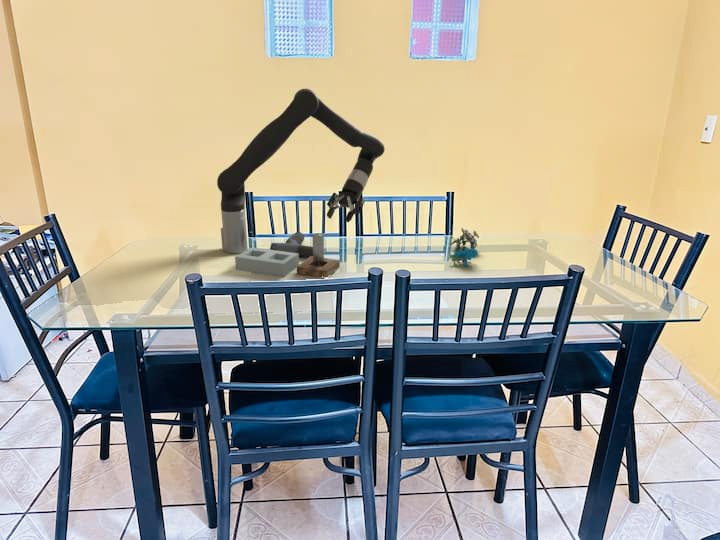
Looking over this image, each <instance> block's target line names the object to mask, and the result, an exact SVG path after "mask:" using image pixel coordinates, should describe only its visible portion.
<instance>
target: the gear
mask: <svg viewBox="0 0 720 540" xmlns="http://www.w3.org/2000/svg"><path fill="white" fill-rule="evenodd" d="M478 255H479V253H478V250H477V249H475V250H474V249H471V248H464V249H463V250H462V249H460V248H459V250H457V251H454V252H453V254H452V253H451V254H449V255H448V256H449V259H450V260H451V261H452V262H453V267H456V266H457V265H456V262H460V261H462V262H464V263H465V267H466V268H469V262H468V261H471V260H472V259H476V258H477V256H478Z"/></svg>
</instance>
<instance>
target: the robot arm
mask: <svg viewBox="0 0 720 540" xmlns="http://www.w3.org/2000/svg"><path fill="white" fill-rule="evenodd" d="M311 117H312V119H315V120H316V121H318V122H320V123H321V124H322V125H324V126H325V127H326V128H328V129H329V130H330V132H332V133H333V134H334V135H335V136H336V137H338V138H340V139H341V140H342V141H343V142H345V143H346V144H347V145H349V146H350V147H352V148H360V151H359V153H358V156H357V159H356V163H355V165H354V166H353V169H352V171H350V173H349V174H348V177H347V178H346V180H345V182H344V184H343V186H342V189H341V193H339V194H337V193H336V192H333V193H332V195H331V196H330V198H329V200H328V201H327V202H326V205H327V207H328V210H327V213H326V216H327V218H328V219H332V217H333V216H334V214H335V210H337V209H341V208H348V209H349V210H348V212H347V214H346V216H345V218H344V219H345V220H344V221H345V222H346V223H350V222H351V221H352V219H353V217H354V215H356V214H357V215H359V214H360V213H361V212H362V209H363V207H364V205H365V199H364V198H363V197H362V196H361V195H362V193H363V191H364V189H365V188H366V186H367V184H368V180H369V178H370V176H371V174H372V172H373V169H374V166H373V165H374V164H373V163H374V162H375V161H376V160H377V159H378V158H380V157H382V156H383V154H384V152H385V145H384V144H383V142H382V141H381V140H380V139H379V138H378V137H376V136H374V135H372V134H370V133H367V132H365V131H362V130H361V129H359V128H358V127H357V126H355V125H354V124H353V123H352V122H350V121H348V120H347V119H345V118H344V117H342V116H341V115H339V114H338V113H336V112H335V111H334V110H333V109H331V108H330V107H329V106H328V105H326V104H325V103H324V101H322V99H320V98H319V96H318V95H317V94H316V93H315V92H314V91H313V90H312V89H309V88H301V89H298V91H296V93H294V96H293V99H292V101H291V102H290V104H289V105H288V106H287V107H286V108H285V110H284V111H283V112H282V113H281V114H280V115H278V117H277V118H275V119H273V120H272V121H271V122H269V123H268V124H267V125H265V127H264V128H263V129H261V130H260V131H259V132H258V134H257V135H256V136H255V137H254V138H252V140H251V142H249V144H248V145H247V146H246V147H245V149H244V151H243V152H242V153H241V155H240V156H239V157H238V158H237V159H236V161H234V162H233V163H232V164H231V165H230V166H228V167H227V168H225V169H224V170H222V172H220V173H219V174H218V176H217V180H216V182H217V183H216V185H217V188H218V190H219V191H220V192H221V198H220V199H221V200H220V211H221V213H220V214H221V222H222V223H221V224H222V227H220V235H221V236H220V237H221V238H220V239H221V248H222V250H221V251H223V252H225V253H227V254H241V253H243V252H244V251H246V250H248V249H249V248H248V235H247V221H246V206H245V204H246V190H245V187H246V186H245V182H246V181H247V180H248V178H249V177H250V176H251V175H252V174H253V173H254V172H255V171H256V170H257V169H259V168H260V167H261V166H263V165H264V164H265V163H266V162H267V161H268V160H270V159H271V157H273V156H274V155H275V154H276V153H277V152H278V150H280V148H281V147H282V146H283V145H284V144H285V143H286V142H287V141H288V139H289V138H290V136H291V135H293V133H294V131H296V130H297V128H299V127H300V126H301V125H302V124H303V123H304V122H306V121H307V119H309V118H311ZM355 204H356V206H355Z"/></svg>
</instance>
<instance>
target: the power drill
mask: <svg viewBox="0 0 720 540" xmlns="http://www.w3.org/2000/svg"><path fill="white" fill-rule="evenodd" d="M304 241H305V235H304V234H303V232H301V231H296V232H294V233H293V234H292V235H290V236H289V237H288V238H287V240H286V241H285V242H271V244H270V247H269V250H276V251H284V252H291V253H298V254H299V258H300V257H301V258H304V257H306V258H309V257H310V256H312V257H313V246H312V245H311V246H309V245H303V242H304Z"/></svg>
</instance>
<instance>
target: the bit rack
mask: <svg viewBox="0 0 720 540" xmlns="http://www.w3.org/2000/svg"><path fill="white" fill-rule="evenodd" d="M234 260H235V261H234V263H235V270H236V271H237V270H238V271H243V272H244V271H245V272H249V273H250V272H251V273H257V274H261V275H263V274H264V275H269V276H274V277H275V276H276V277H283V278H285V277H286V276H288V275H290V274H291V273H292V272H293V271H294V270H297V266H298V265H299V264H300V257H299V254H298V253H291V252H284V251H276V250H270V248H269V249H267V248H260V247H253V246H252V247H250V248H248V250H246V251H244V252H242V253H238V254H237V255H236V256H234Z"/></svg>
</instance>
